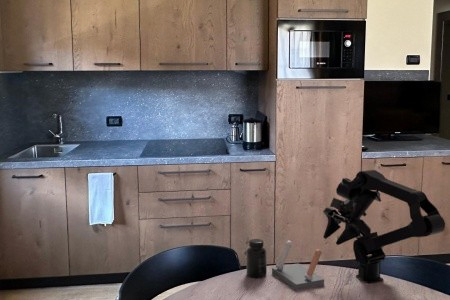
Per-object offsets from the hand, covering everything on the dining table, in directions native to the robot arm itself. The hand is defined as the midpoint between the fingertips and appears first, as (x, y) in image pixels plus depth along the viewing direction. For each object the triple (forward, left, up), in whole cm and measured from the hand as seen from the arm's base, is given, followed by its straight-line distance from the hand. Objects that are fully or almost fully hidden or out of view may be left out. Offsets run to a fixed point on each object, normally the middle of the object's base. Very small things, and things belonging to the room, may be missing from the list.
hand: (330, 241), depth 150 cm
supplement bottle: (+19, -15, -14) cm, 28 cm away
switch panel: (+9, -6, -14) cm, 17 cm away
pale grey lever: (+12, -11, -11) cm, 20 cm away
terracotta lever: (+8, 0, -11) cm, 14 cm away
